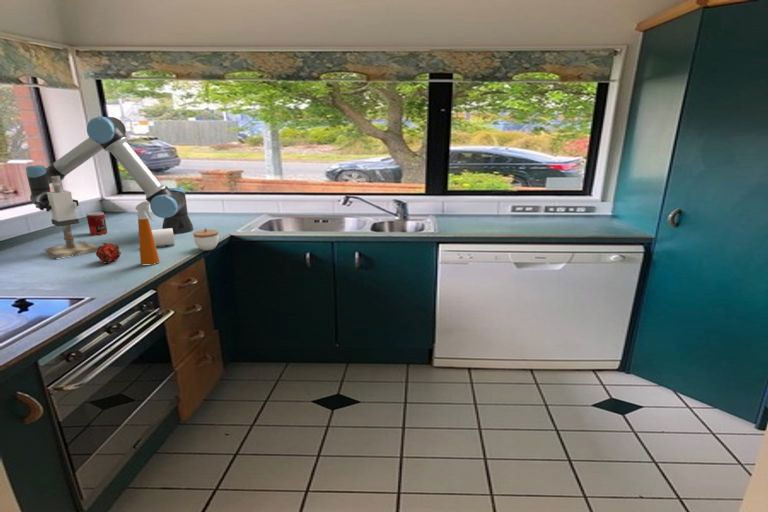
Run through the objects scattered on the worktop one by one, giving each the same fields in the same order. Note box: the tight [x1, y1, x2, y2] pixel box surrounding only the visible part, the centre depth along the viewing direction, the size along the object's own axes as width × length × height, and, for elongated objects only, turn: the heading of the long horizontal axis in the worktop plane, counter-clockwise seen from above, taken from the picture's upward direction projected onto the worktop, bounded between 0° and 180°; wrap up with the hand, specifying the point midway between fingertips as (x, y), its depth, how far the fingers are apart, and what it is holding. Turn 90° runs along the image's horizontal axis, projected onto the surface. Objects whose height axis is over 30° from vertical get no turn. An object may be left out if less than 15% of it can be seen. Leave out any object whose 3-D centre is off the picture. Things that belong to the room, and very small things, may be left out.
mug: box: [151, 228, 176, 247], centre depth 213 cm, size 12×10×8 cm
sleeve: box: [47, 189, 78, 222], centre depth 196 cm, size 7×7×12 cm
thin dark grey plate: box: [51, 218, 80, 227], centre depth 198 cm, size 8×8×2 cm
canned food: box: [86, 211, 108, 236], centre depth 233 cm, size 8×8×11 cm
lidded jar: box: [193, 228, 220, 251], centre depth 206 cm, size 11×11×9 cm
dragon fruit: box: [95, 242, 122, 263], centre depth 187 cm, size 8×8×12 cm
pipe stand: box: [44, 176, 98, 259], centre depth 197 cm, size 16×16×34 cm
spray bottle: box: [135, 200, 160, 265], centre depth 181 cm, size 7×11×26 cm, turn 58°
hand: (65, 207), depth 193 cm, fingers closed on sleeve, 7 cm apart
